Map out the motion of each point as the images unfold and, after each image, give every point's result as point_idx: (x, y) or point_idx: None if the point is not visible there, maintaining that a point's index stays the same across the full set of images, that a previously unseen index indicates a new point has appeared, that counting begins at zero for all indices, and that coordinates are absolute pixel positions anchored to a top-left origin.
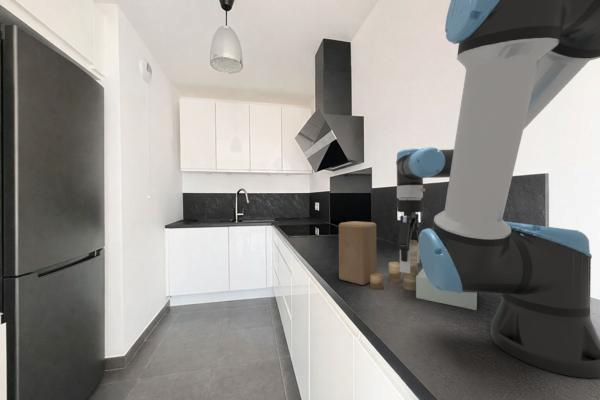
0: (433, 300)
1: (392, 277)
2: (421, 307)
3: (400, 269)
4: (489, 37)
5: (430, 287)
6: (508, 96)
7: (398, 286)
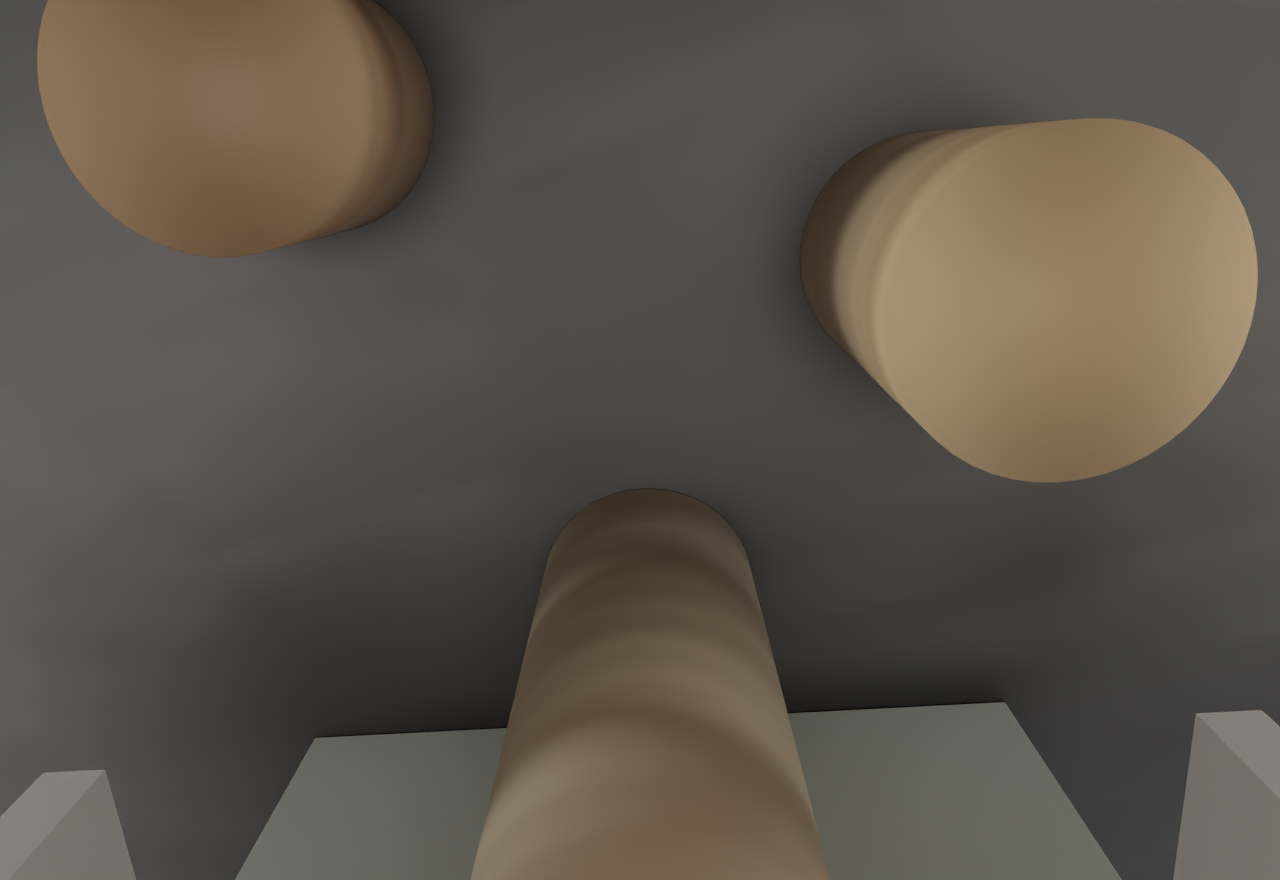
0: None
1: (815, 255)
2: None
3: (12, 823)
4: None
5: None
6: None
7: (628, 409)
